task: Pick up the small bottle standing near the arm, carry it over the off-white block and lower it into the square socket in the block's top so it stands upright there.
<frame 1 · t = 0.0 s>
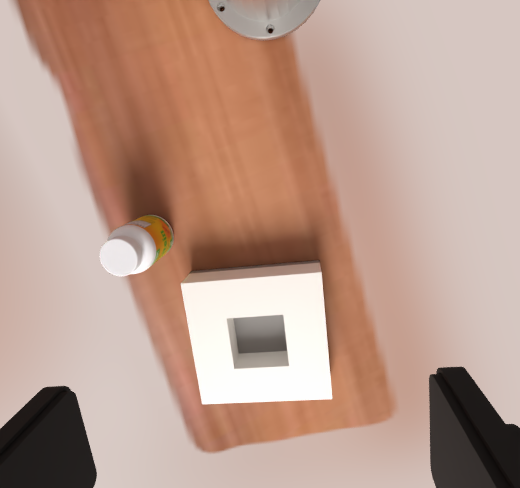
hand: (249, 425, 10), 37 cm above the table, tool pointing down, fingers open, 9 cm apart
socket block: (261, 325, 50), on the table
supplement bottle: (154, 235, 48), on the table
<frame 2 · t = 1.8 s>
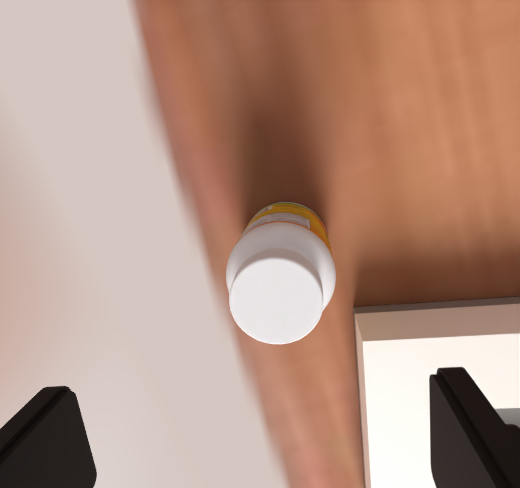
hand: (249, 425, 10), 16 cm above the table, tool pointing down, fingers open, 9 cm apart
socket block: (476, 404, 27), on the table
supplement bottle: (286, 240, 26), on the table
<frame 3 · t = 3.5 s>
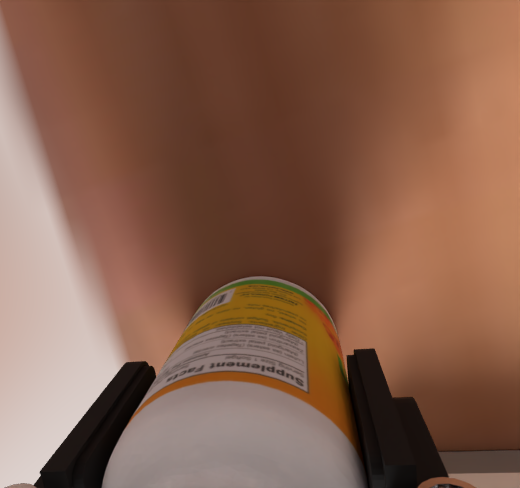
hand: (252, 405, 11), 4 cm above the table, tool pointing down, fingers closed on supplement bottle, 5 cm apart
supplement bottle: (264, 339, 14), on the table, touching gripper
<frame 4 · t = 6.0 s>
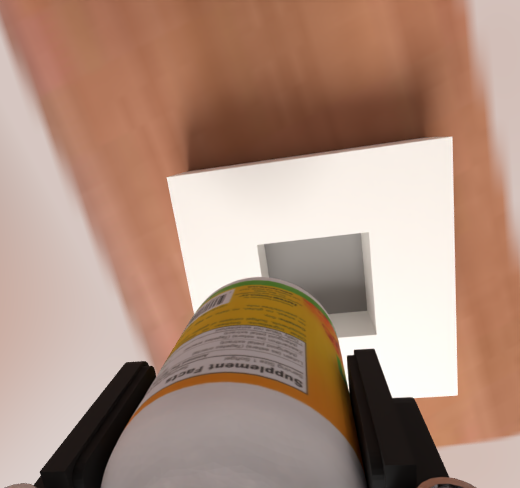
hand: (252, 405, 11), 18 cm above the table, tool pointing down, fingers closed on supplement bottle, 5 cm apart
socket block: (314, 267, 28), on the table
supplement bottle: (263, 339, 14), point 14 cm above the table, touching gripper
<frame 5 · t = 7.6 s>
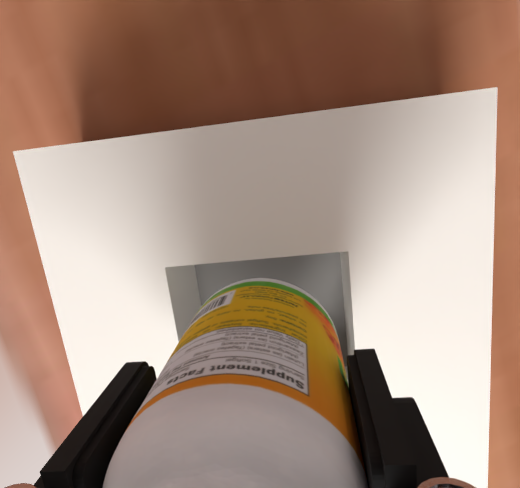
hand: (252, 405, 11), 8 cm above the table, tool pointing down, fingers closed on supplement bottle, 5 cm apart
socket block: (272, 297, 19), on the table
supplement bottle: (264, 340, 14), point 5 cm above the table, touching gripper
when the fingers open (5 cm above the table, at t = 8.8 s): supplement bottle stays where it is, resting on socket block.
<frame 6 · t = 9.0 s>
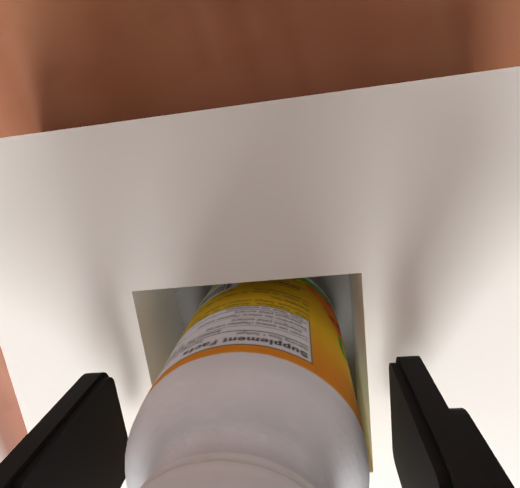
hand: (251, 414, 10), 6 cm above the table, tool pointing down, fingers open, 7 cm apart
socket block: (268, 319, 16), on the table
supplement bottle: (267, 324, 15), point 1 cm above the table, touching socket block
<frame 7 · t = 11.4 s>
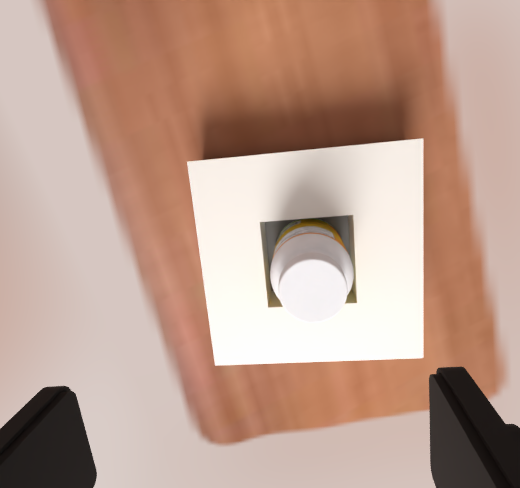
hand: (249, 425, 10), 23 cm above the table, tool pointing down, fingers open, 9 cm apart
socket block: (307, 247, 33), on the table
supplement bottle: (308, 248, 32), point 1 cm above the table, touching socket block
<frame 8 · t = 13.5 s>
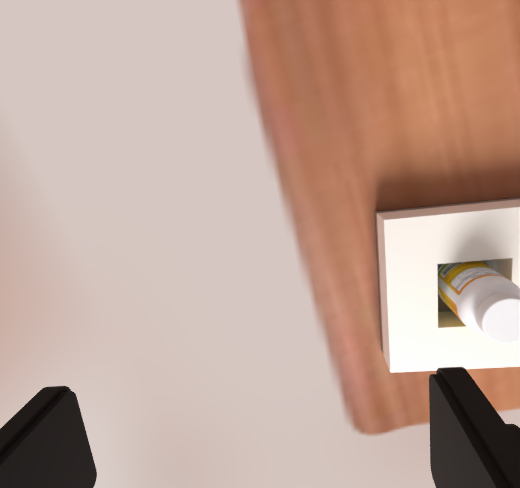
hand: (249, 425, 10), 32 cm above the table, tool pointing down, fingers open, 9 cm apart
socket block: (455, 278, 41), on the table
supplement bottle: (459, 279, 40), point 1 cm above the table, touching socket block
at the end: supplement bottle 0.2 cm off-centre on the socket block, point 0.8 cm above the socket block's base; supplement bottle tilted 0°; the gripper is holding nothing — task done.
